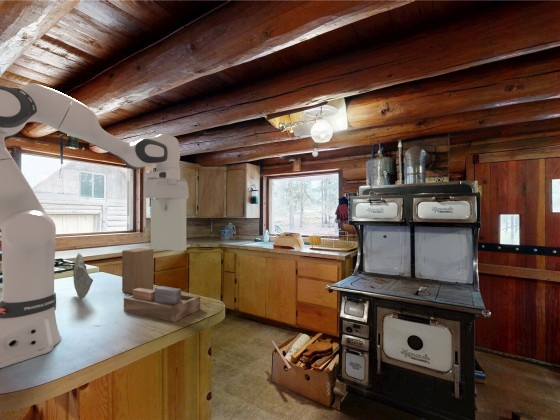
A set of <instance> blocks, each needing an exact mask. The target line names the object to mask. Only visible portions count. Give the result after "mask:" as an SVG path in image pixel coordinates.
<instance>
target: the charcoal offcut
mask: <svg viewBox="0 0 560 420" xmlns="http://www.w3.org/2000/svg"><path fill="white" fill-rule="evenodd" d="M154 289H155V302H158V303H163V304H169V305H174V306H175V305H177V304H180V303H181V294H182V288H176V287H170V286H163V285H160V286H157V287H155V288H154Z"/></svg>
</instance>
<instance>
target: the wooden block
mask: <svg viewBox="0 0 560 420" xmlns="http://www.w3.org/2000/svg"><path fill="white" fill-rule="evenodd" d="M121 257H122V258H121V261H122V262H121V265H122V268H121V271H122V272H121V273H122V274H121V279H122V280H121V283H122V284H121V288H122V290H121V291H122V293H127V294H132V295H133V289H137V288H144V289H150V290H151V289H154V249H151V248H144V247H137V248H131V249H123V250H122V251H121Z"/></svg>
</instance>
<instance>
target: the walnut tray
mask: <svg viewBox="0 0 560 420" xmlns="http://www.w3.org/2000/svg"><path fill="white" fill-rule="evenodd" d="M151 290H155V288H153V289H151ZM200 310H201V296H199V295H192V294H185V293H181V303H180V304H177V305H175V306H174V305H169V304H163V303H158V302H152V301H146V300H141V299H135V298H133V294H132V295H129V296H126V297H124V298H123V311H124V312H127V313H132V314H137V315H141V316H145V317H150V318H155V319H160V320H165V321H169V322H174V323H175V322H177V321H180V320H181V319H183V317H184V318H185V316H186V317H188V316H190V315H191V313H192V314H194V313H196V312H197V311H200ZM189 314H190V315H189ZM187 315H188V316H187Z"/></svg>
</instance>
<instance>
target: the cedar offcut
mask: <svg viewBox="0 0 560 420" xmlns="http://www.w3.org/2000/svg"><path fill="white" fill-rule="evenodd" d="M132 295H133V298H135V299H141V300H146V301H152V302H155V290H150V289H144V288H137V289H133V294H132Z"/></svg>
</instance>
